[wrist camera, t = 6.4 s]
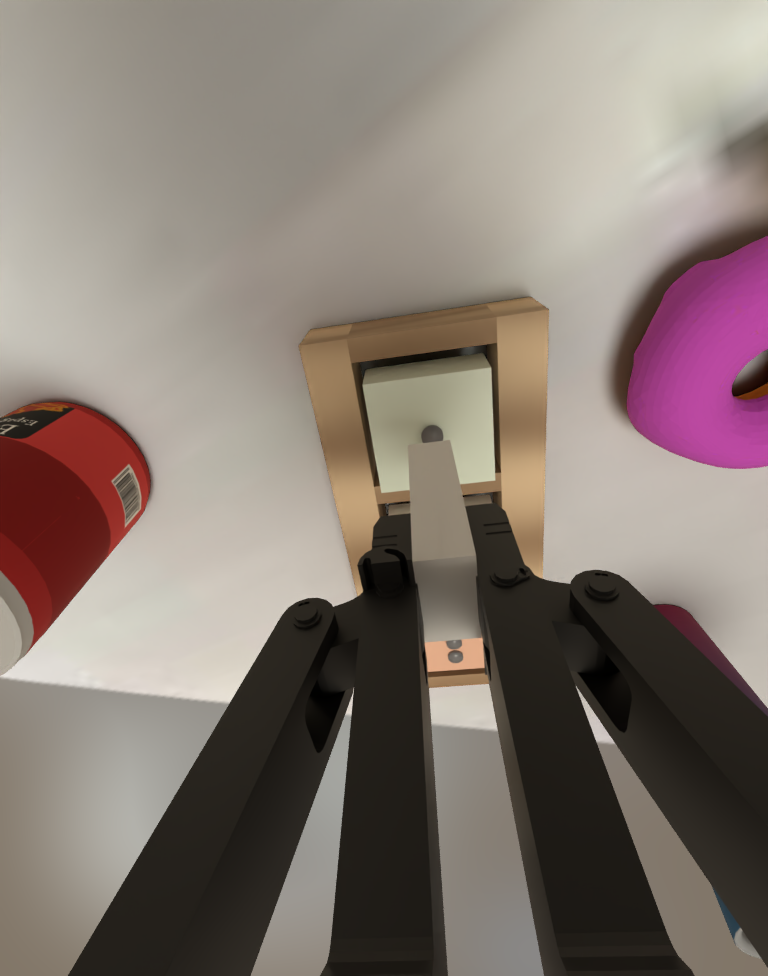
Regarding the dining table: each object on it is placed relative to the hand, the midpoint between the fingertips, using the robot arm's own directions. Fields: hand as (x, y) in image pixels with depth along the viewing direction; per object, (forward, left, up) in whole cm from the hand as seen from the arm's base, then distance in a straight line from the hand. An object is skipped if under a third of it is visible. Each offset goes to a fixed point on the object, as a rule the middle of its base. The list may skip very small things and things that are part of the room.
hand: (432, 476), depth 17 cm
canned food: (+1, -19, -8) cm, 20 cm away
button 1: (0, 0, -5) cm, 5 cm away
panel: (+7, 0, -7) cm, 10 cm away
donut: (-1, +14, -8) cm, 16 cm away
